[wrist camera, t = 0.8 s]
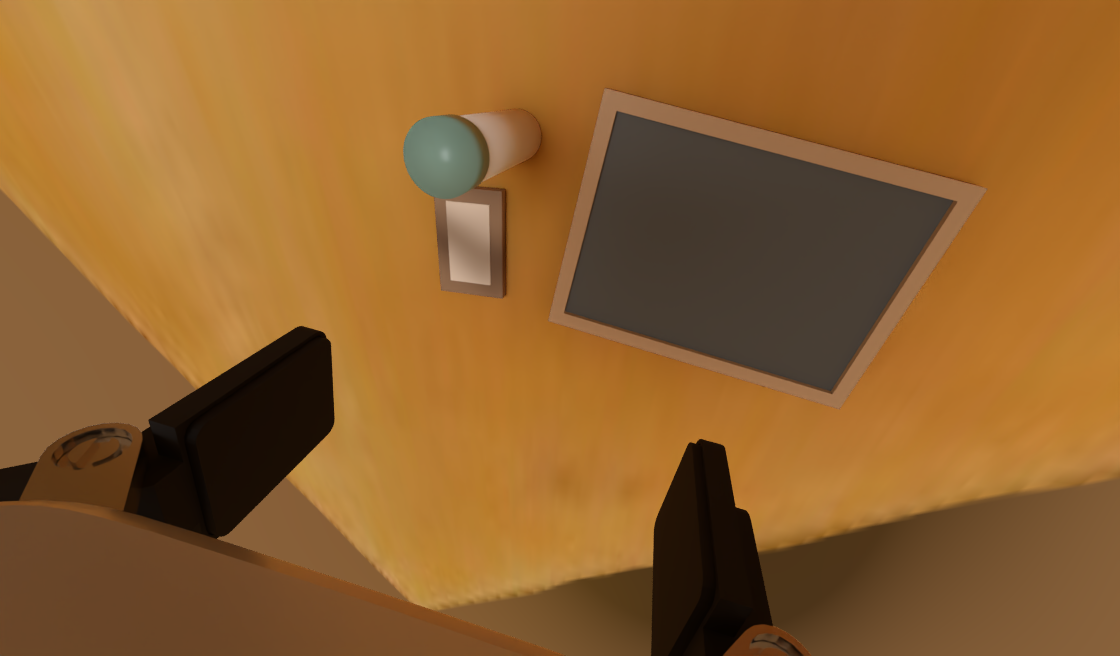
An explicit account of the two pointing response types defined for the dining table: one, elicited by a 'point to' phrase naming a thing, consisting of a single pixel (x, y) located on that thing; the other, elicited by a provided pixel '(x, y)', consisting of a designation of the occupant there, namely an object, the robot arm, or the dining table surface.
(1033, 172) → the dining table surface
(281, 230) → the dining table surface
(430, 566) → the dining table surface
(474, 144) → the cylinder
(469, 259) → the picture frame
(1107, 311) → the dining table surface
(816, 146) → the slate
